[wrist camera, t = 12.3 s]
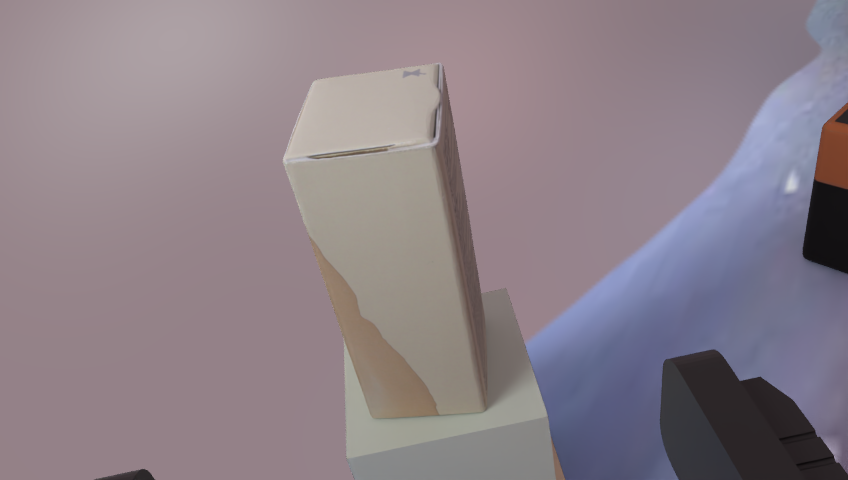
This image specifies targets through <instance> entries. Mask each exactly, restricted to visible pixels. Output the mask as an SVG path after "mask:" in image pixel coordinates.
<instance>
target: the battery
mask: <svg viewBox="0 0 848 480" xmlns="http://www.w3.org/2000/svg"><path fill="white" fill-rule="evenodd" d="M803 256H804V258H805V259H808V260H810V261H813V262H816V263H819V264H822V265H825V266H828V267H831V268H834V269H837V270H840V271H842V272H845V273H848V103H847V104H846V105H844V106H843V107H842V108H841V109H840V110H839V111H838V112H837V113H836V114H835V115H834V116H833V117H831V118H830V119H829V120H828V121H827V122H826V123H825V124H824V125H823V127H822V132H821V138H820V145H819V151H818V157H817V163H816V170H815V176H814V182H813V188H812V195H811V201H810V207H809V213H808V220H807V226H806V232H805V238H804V245H803Z"/></svg>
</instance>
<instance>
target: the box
mask: <svg viewBox="0 0 848 480" xmlns="http://www.w3.org/2000/svg"><path fill="white" fill-rule="evenodd" d="M283 164H284V167H285V169H286V172H287V175H288V177H289V180H290V183H291V186H292V189H293V191H294V194H295V197H296V200H297V203H298V206H299V209H300V212H301V215H302V218H303V221H304V224H305V227H306V229H307V232H308V235H309V238H310V241H311V244H312V247H313V250H314V253H315V256H316V259H317V262H318V265H319V267H320V271H321V274H322V276H323V279H324V282H325V285H326V288H327V291H328V294H329V297H330V300H331V302H332V305H333V308H334V311H335V314H336V317H337V320H338V323H339V326H340V329H341V332H342V335H343V338H344V341H345V344H346V347H347V350H348V353H349V355H350V358H351V361H352V364H353V367H354V370H355V372H356V375H357V378H358V381H359V384H360V386H361V389H362V392H363V395H364V398H365V401H366V404H367V407H368V410H369V413H370V415H371V417H372V418H401V417H417V416H436V415H451V414H464V413H479V412H484V411H485V410H486V408H487V396H488V367H487V344H486V326H485V314H484V308H483V303H482V296H481V290H480V283H479V277H478V270H477V265H476V259H475V253H474V247H473V240H472V233H471V227H470V220H469V214H468V209H467V208H468V207H467V201H466V195H465V190H464V184H463V178H462V172H461V166H460V159H459V153H458V147H457V141H456V135H455V129H454V123H453V117H452V112H451V106H450V100H449V95H448V89H447V84H446V78H445V73H444V67H443V65H442V63H435V64H429V65H421V66H413V67H406V68H399V69H392V70H385V71H377V72H369V73H362V74H354V75H345V76H338V77H331V78H324V79H319V80H316V81H314V82H313V83H312V86H311V88H310V90H309V92H308V95H307V97H306V99H305V102H304V104H303V106H302V109H301V112H300V114H299V116H298V119H297V122H296V125H295V127H294V130H293V133H292V136H291V139H290V141H289V144H288V147H287V150H286V153H285V155H284V158H283Z"/></svg>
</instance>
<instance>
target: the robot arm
mask: <svg viewBox="0 0 848 480" xmlns="http://www.w3.org/2000/svg"><path fill="white" fill-rule="evenodd" d="M660 428H661V435H662V439H663V443H664V447H665V450H666V453H667V455H668V458H669V460H670V462H671V465H672V467H673V469H674V471H675V473H676V475H677V477H678V479H679V480H848V474H847V473H846V472H845V470H844V469H843V468H842V466H841V465H840V463H836V461H835V459H834V455H833V454H832V453H831V451H830V450H829V448H828V447H827V446H826V444H825V443H824V442H823V440H822V439H821V438H820V437H817V435H816V432H815V429H814V428H813V427H812V425H811V424H810V423H809V421H808V420H807V418H806V417H805V416H804V414H803V413H802V412H801V410H800V409H799V408H798V406H797V405H796V403H795V402H794V401H793V400H792V399H791V398H789V397H788V396H787V395H785V394H784V393H782V392H781V391H779V390H778V389H777V388H775V387H774V386H772V385H771V384H770V383H768V382H767V381H765V380H764V379H763V378H761V377H757V378H752V379H747V380H743V381H739V379H738V378H737V376H736V375H735V373H734V372H733V370H732V369H731V367H730V366H729V364H728V363H727V361H726V360H725V359H724V357H723V356H722V355H721V354H720V353H719V352H718V351H716V350H708V351H703V352H699V353H694V354H689V355H685V356H680V357H675V358H671V359H666V360H665V361H664V364H663V374H662V393H661V412H660ZM95 480H155V479H154V478H153V477H152V475H151V474H150V472H148V471H147V470H145V469H141V470H136V471H131V472H127V473H122V474H117V475H113V476H108V477H103V478H99V479H95Z"/></svg>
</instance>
